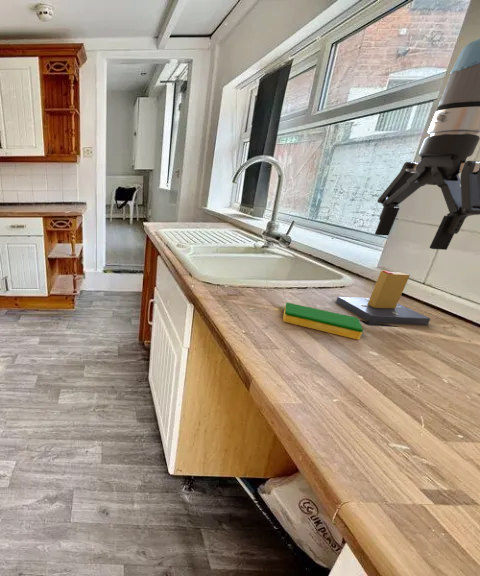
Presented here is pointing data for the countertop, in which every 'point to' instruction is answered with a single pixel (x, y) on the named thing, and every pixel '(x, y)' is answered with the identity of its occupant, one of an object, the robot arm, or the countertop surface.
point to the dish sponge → (323, 320)
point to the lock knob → (388, 289)
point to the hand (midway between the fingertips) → (406, 241)
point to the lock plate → (382, 313)
